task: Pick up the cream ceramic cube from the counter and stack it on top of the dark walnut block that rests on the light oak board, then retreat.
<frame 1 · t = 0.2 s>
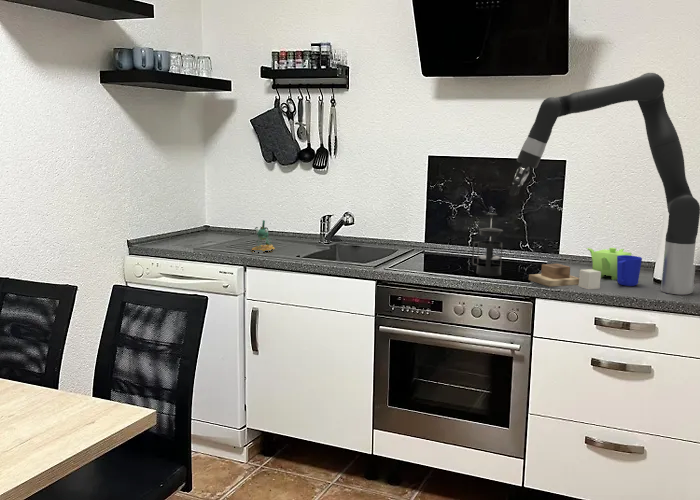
hand: (512, 194, 250), 31 cm above the table, tool tilted 20°, fingers open, 8 cm apart
cube: (589, 287, 243), on the table
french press: (487, 273, 264), on the table
mug: (624, 286, 247), on the table
base block: (555, 276, 250), point 2 cm above the table, touching board
kettle: (610, 277, 262), on the table
frog figurine: (264, 251, 307), on the table
board: (554, 282, 251), on the table
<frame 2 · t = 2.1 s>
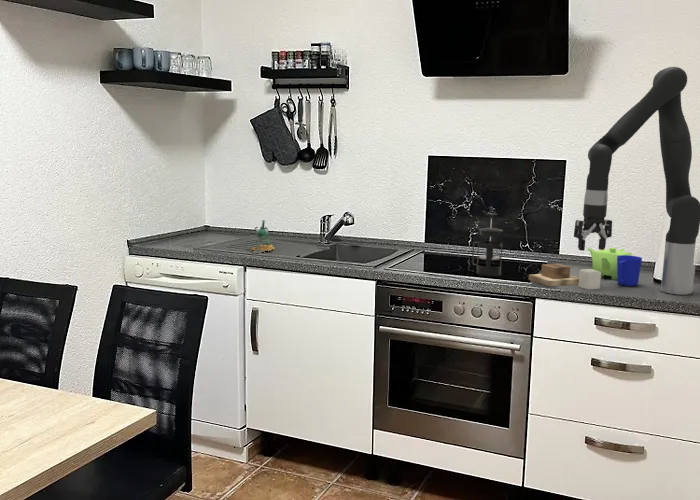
hand: (591, 250, 241), 13 cm above the table, tool pointing down, fingers open, 8 cm apart
nothing on the table moved.
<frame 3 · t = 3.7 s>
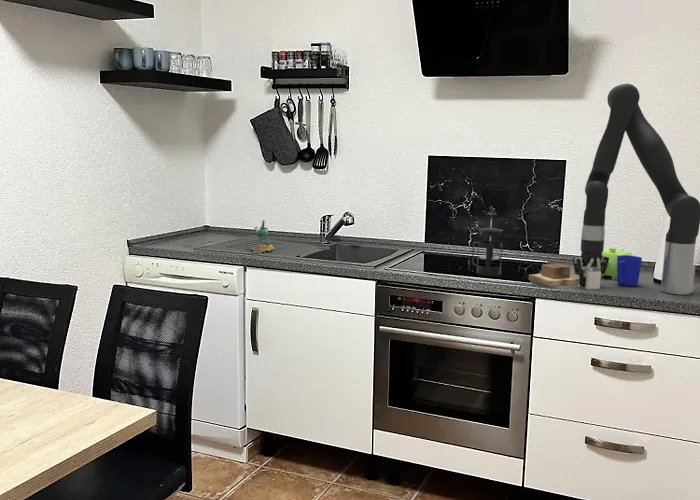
hand: (589, 286, 243), 0 cm above the table, tool pointing down, fingers closed on cube, 5 cm apart
cube: (588, 287, 243), on the table, touching gripper
everything else where it was.
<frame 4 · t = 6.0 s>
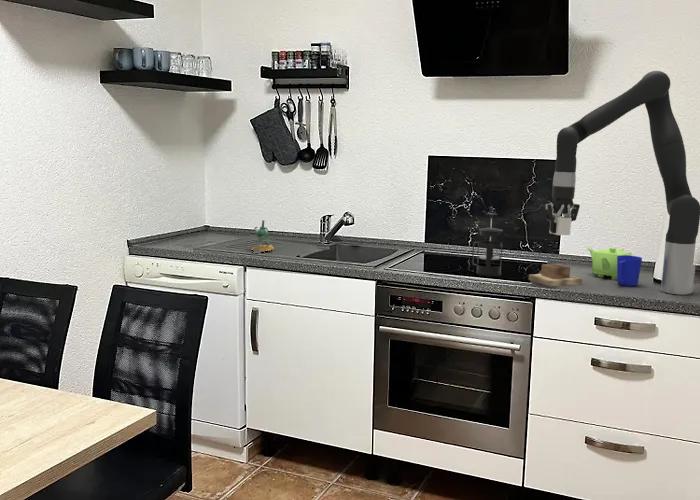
hand: (559, 232, 247), 18 cm above the table, tool pointing down, fingers closed on cube, 5 cm apart
cube: (559, 234, 247), point 18 cm above the table, touching gripper
everything else where it was.
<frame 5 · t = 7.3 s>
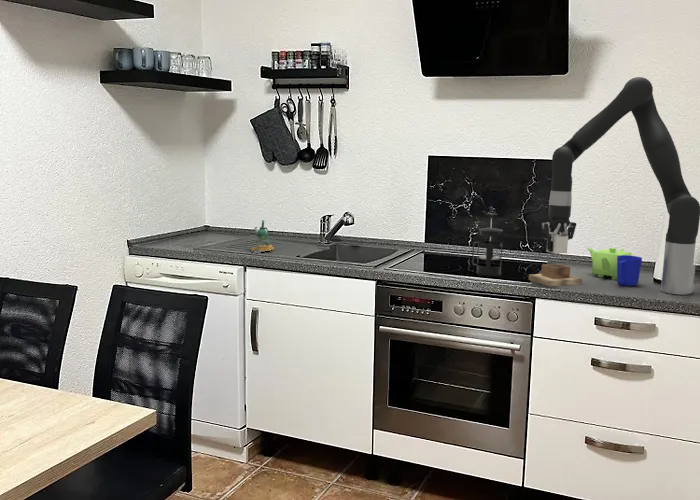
hand: (556, 251, 249), 11 cm above the table, tool pointing down, fingers closed on cube, 5 cm apart
cube: (556, 252, 249), point 11 cm above the table, touching gripper
everything else where it was.
when the fingers open (7 cm above the table, at t = 8.5 s): cube stays where it is, resting on base block.
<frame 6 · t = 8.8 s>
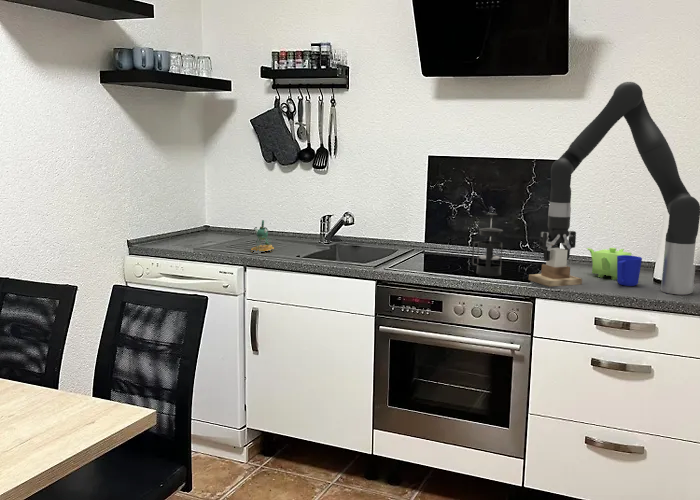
hand: (556, 260, 249), 8 cm above the table, tool pointing down, fingers open, 8 cm apart
cube: (556, 265, 250), point 6 cm above the table, touching base block
base block: (555, 276, 250), point 2 cm above the table, touching board, cube
everything else where it was.
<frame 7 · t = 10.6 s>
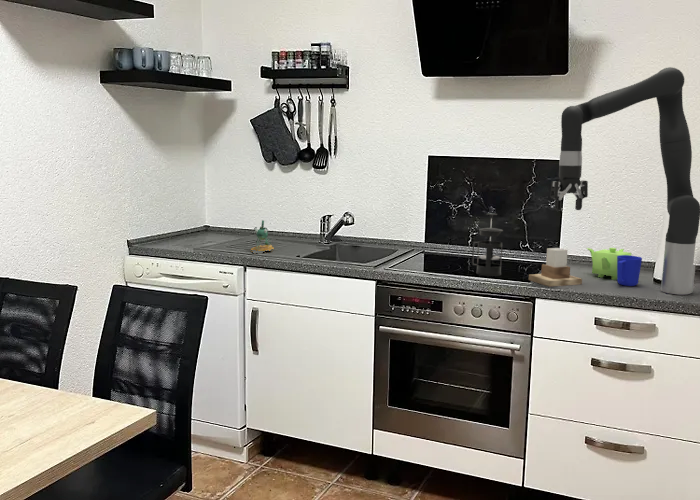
hand: (568, 210, 246), 26 cm above the table, tool pointing down, fingers open, 8 cm apart
nothing on the table moved.
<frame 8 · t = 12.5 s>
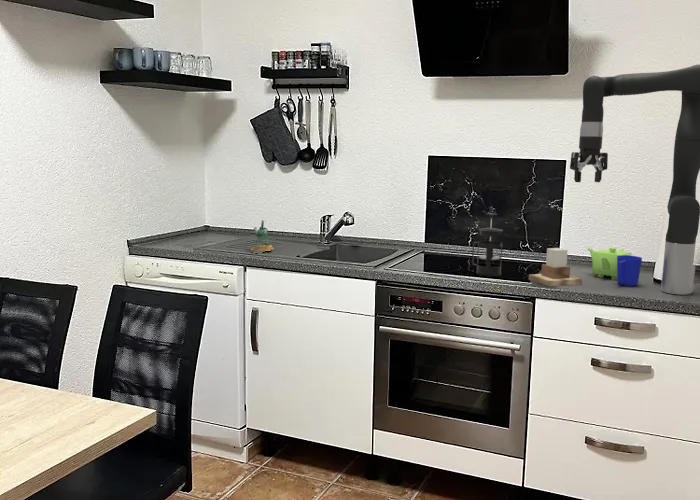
hand: (587, 182, 244), 36 cm above the table, tool pointing down, fingers open, 8 cm apart
nothing on the table moved.
at the end: cube 0.1 cm off-centre on the base block, point 4.0 cm above the base block's base; cube tilted 0°; base block moved 0.0 cm from its start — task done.
